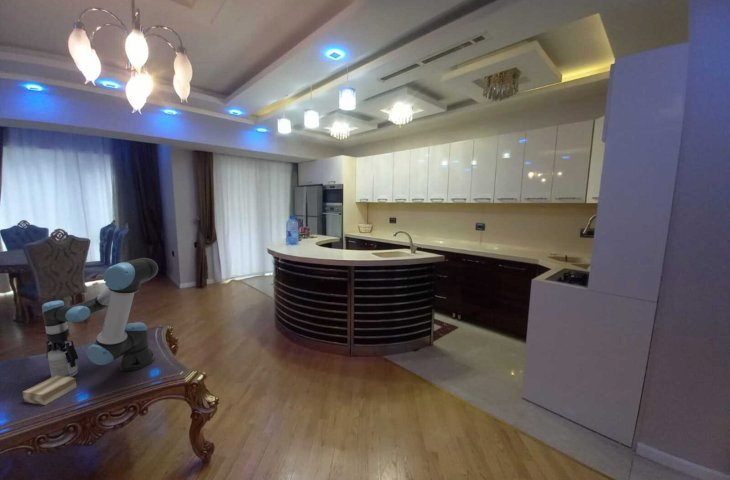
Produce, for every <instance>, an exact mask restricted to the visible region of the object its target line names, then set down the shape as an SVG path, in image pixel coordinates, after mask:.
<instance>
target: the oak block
mask: <svg viewBox="0 0 730 480" xmlns="http://www.w3.org/2000/svg"><path fill="white" fill-rule="evenodd" d="M74 389H77V381H76V377H73V376H72V377H65V376H57V375H55V376H53V377H51V376H50V377H49V378H48V379H45V380H44V381H41V382H38V383H37V384H35V385H33V386H31V387H30V388H27V389H26V390H23V391H22V397H23V400H24V403H29V404H36V405H44V406H46V405H48V404H50V403H51V402H53V401H55V400H57V399H58V398H60V397H62V396H63V395H65V394H67V393H69V392H71V391H72V390H74Z"/></svg>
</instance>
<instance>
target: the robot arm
mask: <svg viewBox="0 0 730 480" xmlns="http://www.w3.org/2000/svg"><path fill="white" fill-rule="evenodd" d="M158 272H159V265H158V263H157V262H156V261H155V260H154V259H151V258H148V257H140V258H136V259H132V260H128V261H123V262H118V263H116V264H114V265H111V266H109V267H108V268H107V269H106V270H105V272H104V274H103V281H104V282H105V283H104V284H105V286H106V287H107V289H105V290H104V291H102V292H101V293H99V294H98V295H97V296H95V297H94V298H91V299H88V300H86V301H81V302H80V303H78V304H74V305H65V302H64V301H63V300H58V299H57V300H51V301H48V302H45V303H43V304H42V305H41V309H42V310H41V314H42V317H43V318H42V319H43V322H44V328H45V333H46V338H47V340H46V342H45V343H46V354H45V357H46V359H47V360H48V353H49V352H50V351H55V350H57V349H59V350H60V351H62V352H66V351H67V353H65V355H66V358H67V360H68V362H67V365H68V371H69V374H72V373H74V372H75V371H76V364H75V360H78V359H79V356H78V353H77V351H76V349H75V345H74V341H73V340H71V341H69V340H68V338H69V337H70V331H69V330H70V329H69V324H68V323H69V322H70V323H71V322H72V323H74V322H83V321H85V320H87V318H89V317H90V316H92V315H93V314H95V313H98V312H101V311H104V310H106V312H105V317H104V323H103V326H102V331H101V332H100V333H98V335H97V336H96V338H95V342H94V344H93V343H92V344H90V346H88V348H87V349H86V356H87V358H88V360H89V361H91V362H92V363H93V364H95V365H98V366H106V365H108V364H110V363H112V362H114V361H115V360H116V359H118V358H120V361H119V365H118V366H119V367H118V368H119V370H120V371H122V372H131V371H132V372H133V371H137V370H139V369H142V368H145V367H147V366H149V365H150V364H151V363H152V362H154V360H155V354H154V352H153V351H152V349H151V348H150V346H149V345H150V344H149V336H148V329H147V324H145V323H144V322H139V321H138V322H130V323H128V320H129V316H130V314H131V313H130V312H131V308H132V305H133V300H134V296H135V293H137V292H139V291H140V289H141V284H143V283H147V282H148V281H150V280H151V279H153V278H155V276H157V274H158ZM65 347H66V348H65ZM63 348H64V349H63Z"/></svg>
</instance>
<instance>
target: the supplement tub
mask: <svg viewBox="0 0 730 480" xmlns="http://www.w3.org/2000/svg"><path fill="white" fill-rule="evenodd" d="M65 348H66V347H65ZM63 349H64V348H63ZM65 353H67V351H66V352H62V351H60V350H59V349H57V350H55V351H50V352H49V353H48V359H47V360H48V366H49V371H50V378H51V377H53V376H55V375H57V376H65V377H72V378H73V377H74V376H76V375H77V374H78V372H79V367H78V361H77V360H78V359H76V360H75V364H76V371H75V372H74V373H72V374H69V371H68V365H67V362H68V360H67V358H66V355H65Z"/></svg>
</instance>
